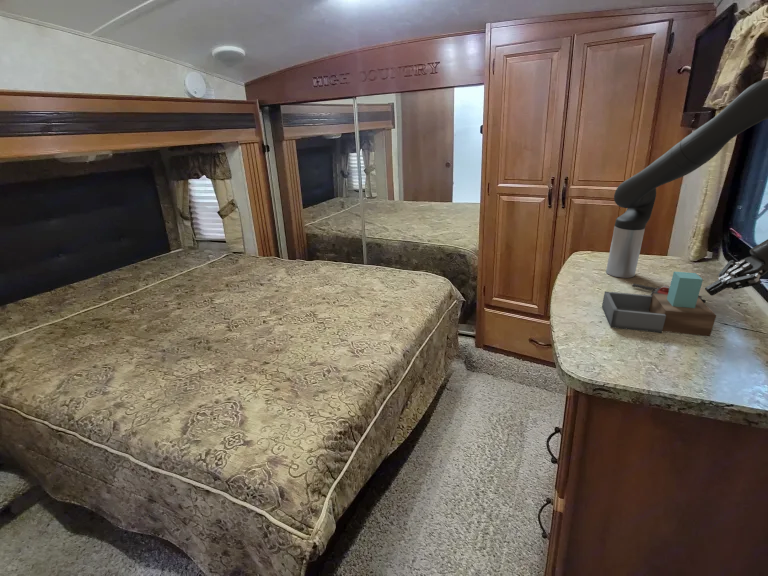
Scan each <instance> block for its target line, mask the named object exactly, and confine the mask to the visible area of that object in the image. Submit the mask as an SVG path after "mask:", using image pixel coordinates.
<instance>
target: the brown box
mask: <svg viewBox="0 0 768 576" xmlns="http://www.w3.org/2000/svg"><path fill="white" fill-rule="evenodd" d="M667 296H668V295H665V294H654V293H653V295H652V299H651V303H650V307H649V311H650V313H659V314H665V315H666V318H665V322H664V326H663V330H662V333H663V332H665V333H672V334H673V333H674V334H682V335H691V336H702V337H711V335H712V331H713V327H714V324H715V321H716V318H717V314H715V312H714V311H713V310H712V309H711V308H710V307H709V306H708V305H707V304H706V302H705V303H704V302H703V301H702V300H701V299H700V298H699V297H698V299H697V302H696V306H695V308H686V307H675V306H672V305H671V304H670V302H669V301H668V300H667Z"/></svg>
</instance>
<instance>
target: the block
mask: <svg viewBox="0 0 768 576" xmlns="http://www.w3.org/2000/svg"><path fill="white" fill-rule="evenodd" d="M703 281H704V279H703V278H702V277H701V276H700V275H699V274H697V273H696V272H687V271H686V272H685V271H673V273H672V277H671V281H670V285H669V286H670V288H669V292H668V296H667V300H668V301H669V302H670V304H671V305H672V306H675V307H686V308H695V306H696V302H697V299H698V295H699V296H700V291H701V289H702V284H703Z"/></svg>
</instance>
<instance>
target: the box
mask: <svg viewBox="0 0 768 576" xmlns="http://www.w3.org/2000/svg"><path fill="white" fill-rule="evenodd" d="M602 299H603V300H602V304H601V309H602V311H603V313H604V315H605V318H606V320H607V323H608V325H609V328H611V329H612V328H613V329H620V330H630V331H640V332H649V333H656V334H657V333H659V334H662V333H663V332H662V330H663V326H664V322H665V318H666V315H665V314H659V313H650V311H649V307H650V303H651V299H652V296H651V294H649V295H648V294H638V293H628V292H615V291H604V293H603V298H602Z"/></svg>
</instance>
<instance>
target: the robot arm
mask: <svg viewBox="0 0 768 576" xmlns="http://www.w3.org/2000/svg"><path fill="white" fill-rule="evenodd" d="M765 120H768V78H764V79H761V80H757V81H756V82H755V83H753V84H751V85H750V86H748V87H747V88H745V89H744V90H743V91H742V92H741V93H740V94H739V95H738V96H737V97H736V98H734V99H733V100H732V101H731V102H730V103H729V104H727V106H726V107H724V109H722V110H721V111H720V112H719V113H718V114H716V115H715V116H714V117H713V118H711V119H710V120H708V121H707V122H705V123H704V124H702V125H701V126H699V127H698V128H696V129H695V130H694V131H692V132H691V133H690V134H688V135H686V136H685V137H683V138H682V139H681V140H680V141H679V142H677V143H676V144H674V145H673V146H672V147H671V148H669V150H667V151H666V152H665V153H664V154H662V155H661V156H660V157H658V158H656V159H655V160H654V161H653V162H652V163H650V164H649V165H648V166H646V167H645V168H643V169H642V170H640V171H639V172H637V173H635V174H634V175H632V176H631V177H629V178H628V179H626V180H624V181H623V182H621V183H620V184H619V185H618V186H617V188H616V189H615V190H614V195H613V200H614V203H615V205H617V206H618V207H620V208H623V209H626V211H624V213H623V214H621V215H619V216H617V218H616V219H615V223H614V226H613V233H612V239H611V243H610V249H609V254H608V260H607V263H606V269H605V273H606V274H608V275H610V276H612V277H616V278H626V279H627V278H629V279H630V278H634V277H635V275H636V271H637V266H638V262H639V258H640V254H641V248H642V243H643V239H644V235H645V229H646V226H647V224H648V222H649V221H650V219H651V216H652V213H653V209H654V206H655V202H656V197H657V188H659V187H660V186H663V185H665V184H667V183H668V184H669V183H670V182H672V181H676V180H678V179H680V178H683V177H685V176H687V175H689V174H691V173H692V172H694V171H696V170H697V169H698V168H701V166H703V165H705V164H706V163H708V162H710V160H712V159H713V158H714V157H715V156H716V155H717V154H719V152H720V151H721V150H722V149H723V148H724V147H725V146H726V145H727V143H729V141H731V140H732V139H733V138H735V137H736V136H738V135H739V134H741V133H743V132H744V131H746V130H747V129H750V128H751V127H753V126H755V125H757V124H759V123H761V122H762V121H765ZM749 254H750V256H749V255H748V256H747V257H744V258H741V259H740V260H739V261H735V260H733V259H731V260H729V261H728V262H727V263H726V264H725V266H723V268H722V270H720V272H719V273H718V274H717V276H718V280H715V282H713V283H711V284H709V285H707V286H705V288H704V290H705V291H706V292H707V293H708V294H709V295H710V296H712V297H713V296H715V295H717V294H718V293H720V292H722V291H724V290H725V289H731V288H732V290H739V289H745V288H747V287H748V288H749V287H753V286H757V285H760V284H761V283H762V281H761V280H760V278H761V277H763V276H764V275H765V274H767V273H768V238H767V239H766V240H764V241H762V242H760V243H758V244H757V245H756V246H754V247H752V248H751V249H749Z"/></svg>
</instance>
